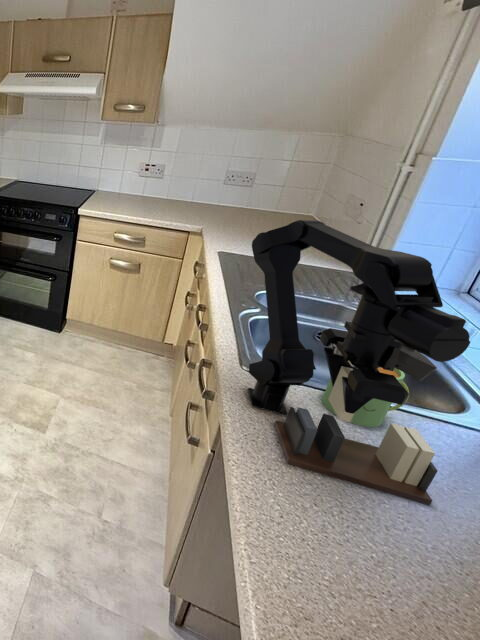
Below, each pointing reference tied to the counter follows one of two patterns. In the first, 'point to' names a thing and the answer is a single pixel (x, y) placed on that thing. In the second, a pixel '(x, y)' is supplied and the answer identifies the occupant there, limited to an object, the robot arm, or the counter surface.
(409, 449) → the cream book
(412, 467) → the cream book
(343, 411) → the cream book
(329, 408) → the mug
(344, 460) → the book rack
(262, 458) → the counter surface
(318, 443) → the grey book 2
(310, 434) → the grey book
